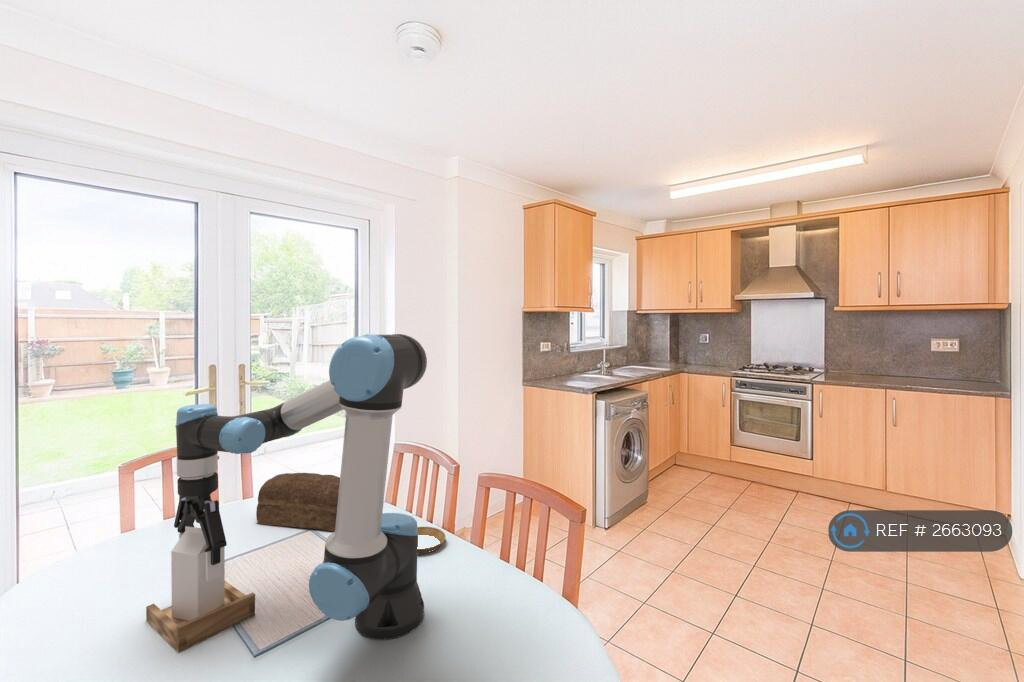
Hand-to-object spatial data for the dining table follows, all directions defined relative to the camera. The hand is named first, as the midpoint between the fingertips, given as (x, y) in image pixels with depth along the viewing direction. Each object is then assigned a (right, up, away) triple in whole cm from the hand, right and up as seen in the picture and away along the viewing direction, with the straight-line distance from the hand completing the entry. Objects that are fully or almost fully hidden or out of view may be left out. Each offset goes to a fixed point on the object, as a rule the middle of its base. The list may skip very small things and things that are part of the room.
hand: (199, 568), depth 105 cm
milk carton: (-1, -10, 0) cm, 10 cm away
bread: (+2, -9, +52) cm, 53 cm away
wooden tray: (+1, -11, 0) cm, 11 cm away
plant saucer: (+42, -11, +36) cm, 57 cm away
